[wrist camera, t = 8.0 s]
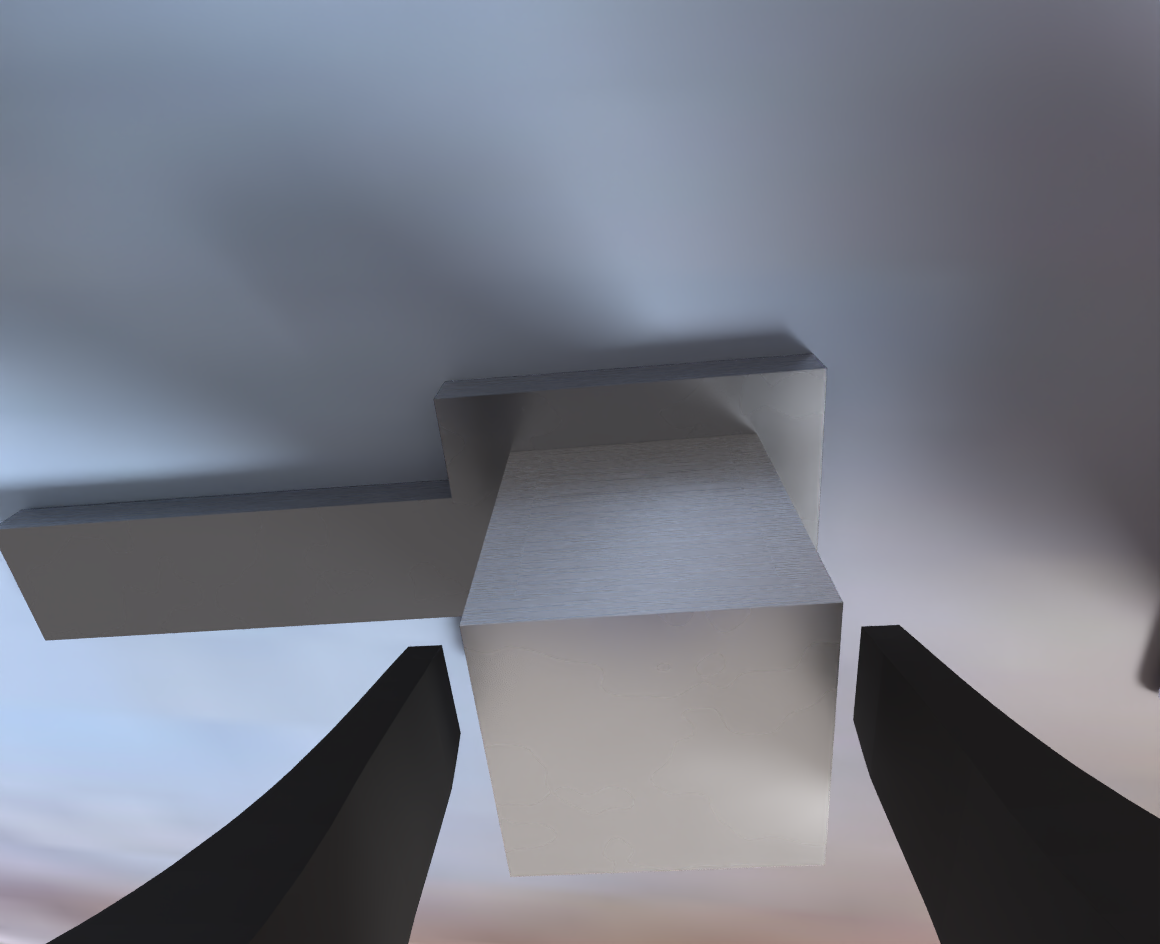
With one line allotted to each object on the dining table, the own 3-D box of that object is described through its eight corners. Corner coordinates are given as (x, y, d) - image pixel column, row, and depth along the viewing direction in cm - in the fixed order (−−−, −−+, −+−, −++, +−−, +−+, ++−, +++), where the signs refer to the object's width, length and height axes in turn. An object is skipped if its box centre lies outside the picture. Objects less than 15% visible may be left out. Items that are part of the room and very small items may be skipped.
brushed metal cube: (756, 433, 15) (843, 602, 10) (755, 634, 17) (824, 864, 12) (510, 452, 15) (459, 625, 10) (538, 647, 18) (510, 876, 12)
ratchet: (811, 351, 16) (878, 422, 12) (798, 650, 19) (847, 779, 15) (-22, 418, 17) (-205, 502, 13) (105, 687, 20) (-12, 816, 16)
